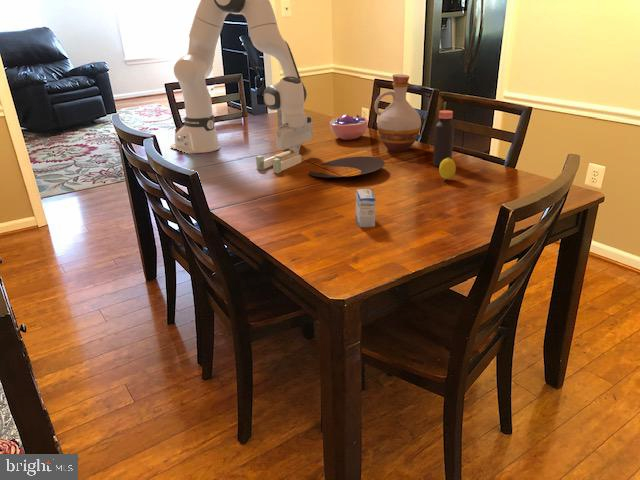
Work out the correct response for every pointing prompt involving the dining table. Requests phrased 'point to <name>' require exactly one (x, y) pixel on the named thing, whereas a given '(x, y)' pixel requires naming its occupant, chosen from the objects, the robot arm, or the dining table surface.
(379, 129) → the jug
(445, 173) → the lemon
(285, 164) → the green-tipped fork clamp
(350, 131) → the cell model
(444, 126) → the bottle
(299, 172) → the dining table surface
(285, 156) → the maple block
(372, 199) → the medicine box
